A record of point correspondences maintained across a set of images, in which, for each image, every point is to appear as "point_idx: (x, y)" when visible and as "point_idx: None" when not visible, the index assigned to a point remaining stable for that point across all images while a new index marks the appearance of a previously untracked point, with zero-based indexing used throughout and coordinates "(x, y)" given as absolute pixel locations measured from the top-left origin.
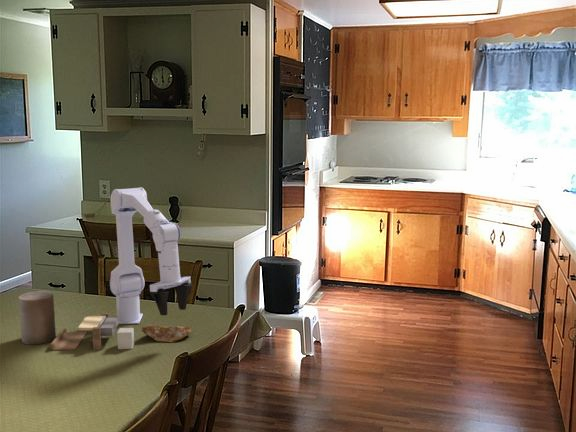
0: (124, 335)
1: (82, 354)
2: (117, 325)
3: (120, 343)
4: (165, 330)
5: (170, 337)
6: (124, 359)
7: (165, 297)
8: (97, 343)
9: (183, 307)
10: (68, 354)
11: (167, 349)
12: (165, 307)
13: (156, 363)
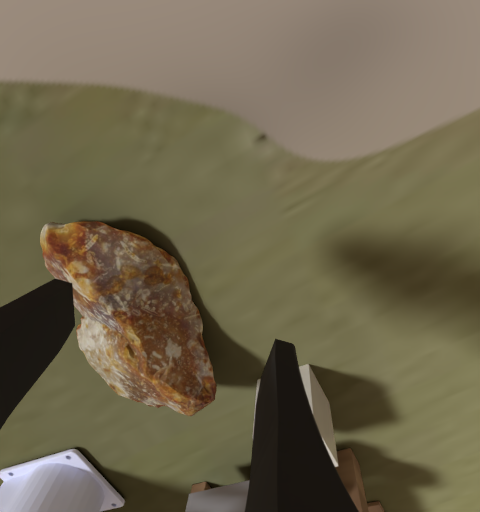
0: (325, 432)
1: (412, 470)
2: (204, 493)
3: (328, 414)
4: (146, 323)
5: (163, 279)
6: (430, 337)
7: (321, 509)
8: (357, 474)
9: (60, 302)
10: (423, 500)
11: (262, 234)
12: (303, 396)
13: (451, 191)
